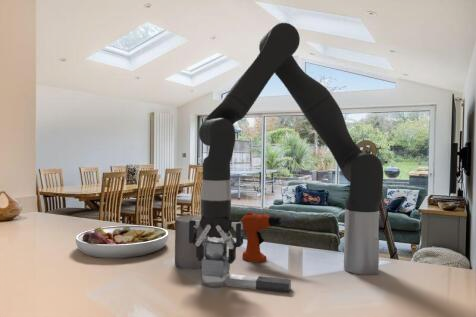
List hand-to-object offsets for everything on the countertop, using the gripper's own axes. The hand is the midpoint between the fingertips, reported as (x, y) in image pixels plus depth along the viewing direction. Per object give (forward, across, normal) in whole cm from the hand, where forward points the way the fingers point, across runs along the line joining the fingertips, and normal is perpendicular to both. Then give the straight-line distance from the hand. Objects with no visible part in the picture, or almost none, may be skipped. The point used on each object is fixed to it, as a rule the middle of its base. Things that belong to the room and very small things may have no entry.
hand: (215, 261), depth 100 cm
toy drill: (+6, -9, -22) cm, 24 cm away
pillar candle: (+6, +12, -13) cm, 19 cm away
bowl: (+6, +41, -23) cm, 47 cm away
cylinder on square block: (+3, 0, 0) cm, 3 cm away
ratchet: (+5, -8, 0) cm, 9 cm away
